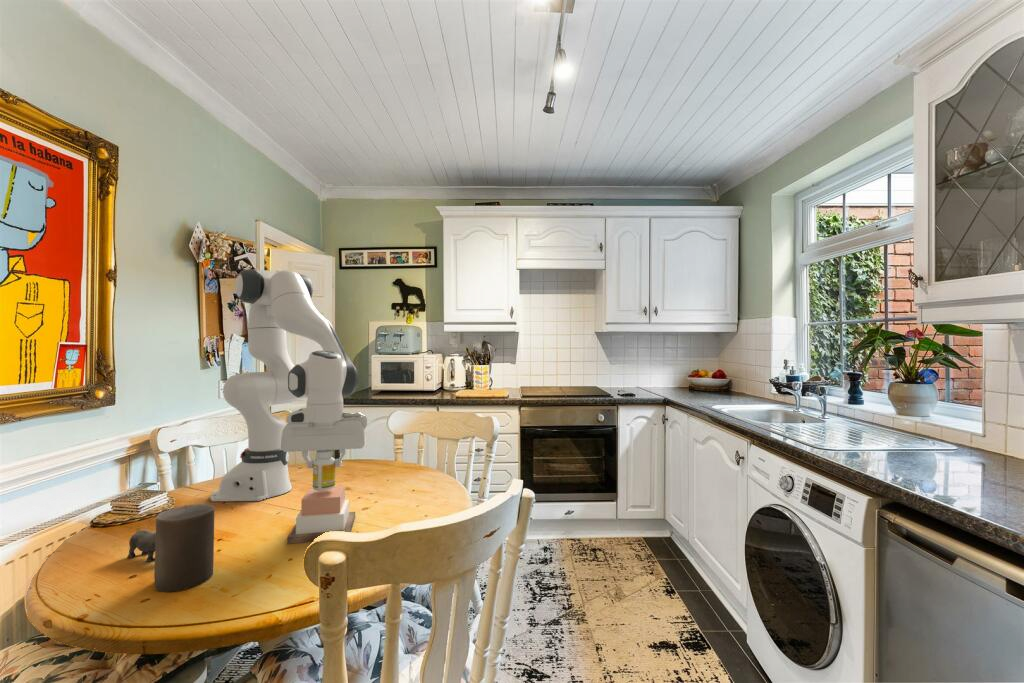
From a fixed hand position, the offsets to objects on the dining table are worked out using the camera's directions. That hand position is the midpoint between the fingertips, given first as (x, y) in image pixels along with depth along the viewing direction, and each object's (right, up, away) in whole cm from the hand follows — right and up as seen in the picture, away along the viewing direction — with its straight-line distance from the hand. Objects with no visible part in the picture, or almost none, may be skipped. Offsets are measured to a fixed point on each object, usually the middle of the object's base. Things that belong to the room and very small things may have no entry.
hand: (324, 467), depth 115 cm
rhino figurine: (-30, -16, -16) cm, 38 cm away
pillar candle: (-18, -16, -25) cm, 35 cm away
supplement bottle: (0, -6, 0) cm, 6 cm away
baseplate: (0, -16, 0) cm, 16 cm away
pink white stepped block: (0, -15, 0) cm, 15 cm away
